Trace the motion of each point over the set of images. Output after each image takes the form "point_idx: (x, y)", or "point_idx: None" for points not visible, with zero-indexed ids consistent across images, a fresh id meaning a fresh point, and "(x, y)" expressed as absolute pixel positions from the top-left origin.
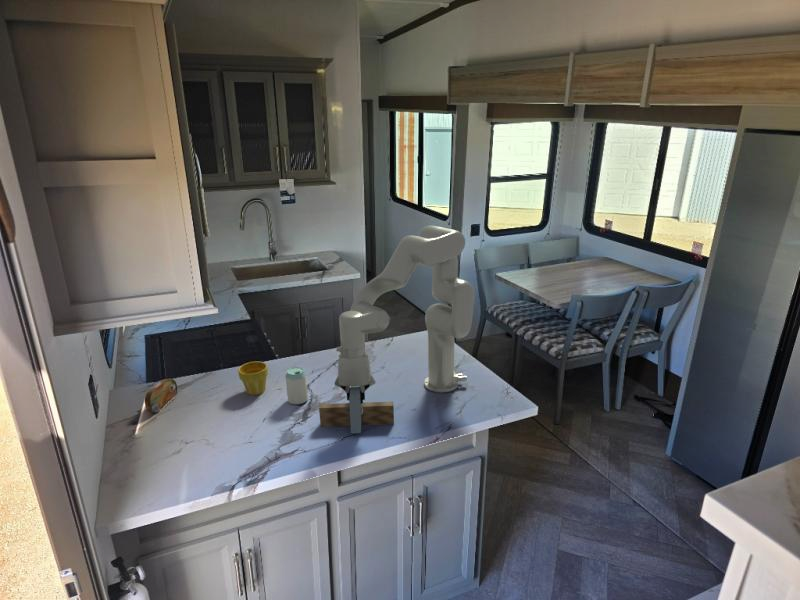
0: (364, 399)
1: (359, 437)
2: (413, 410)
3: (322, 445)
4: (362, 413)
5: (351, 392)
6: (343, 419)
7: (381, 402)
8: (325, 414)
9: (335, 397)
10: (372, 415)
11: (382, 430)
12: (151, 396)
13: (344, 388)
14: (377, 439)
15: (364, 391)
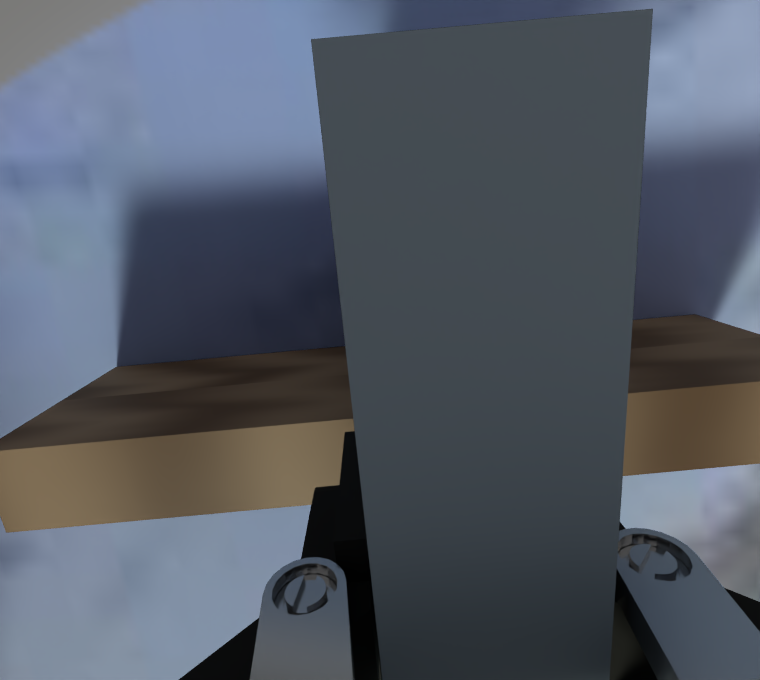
0: (318, 487)
1: None
2: (11, 544)
3: (673, 37)
4: None
5: (583, 458)
6: None
7: (142, 510)
8: (735, 349)
9: None
10: (264, 382)
11: (192, 279)
12: None
13: (757, 630)
14: (208, 144)
15: (284, 586)
